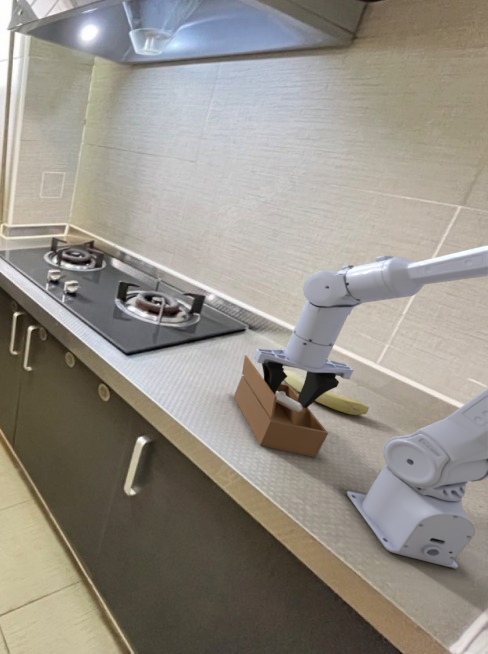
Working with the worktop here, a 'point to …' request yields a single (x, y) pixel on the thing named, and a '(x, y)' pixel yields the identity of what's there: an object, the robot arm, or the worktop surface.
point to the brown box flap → (259, 386)
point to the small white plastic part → (288, 402)
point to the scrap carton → (281, 422)
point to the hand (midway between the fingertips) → (284, 401)
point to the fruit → (328, 396)
